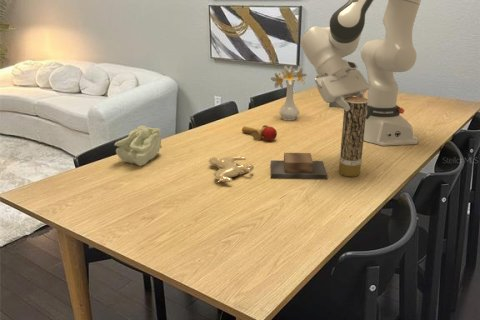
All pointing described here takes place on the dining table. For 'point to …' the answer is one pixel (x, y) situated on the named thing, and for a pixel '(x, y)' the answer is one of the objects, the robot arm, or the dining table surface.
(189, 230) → the dining table surface
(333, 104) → the ruin model on sheet
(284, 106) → the flower vase
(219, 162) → the unicorn
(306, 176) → the plinth
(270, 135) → the kendama
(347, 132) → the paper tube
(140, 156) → the folded clay sculpture
